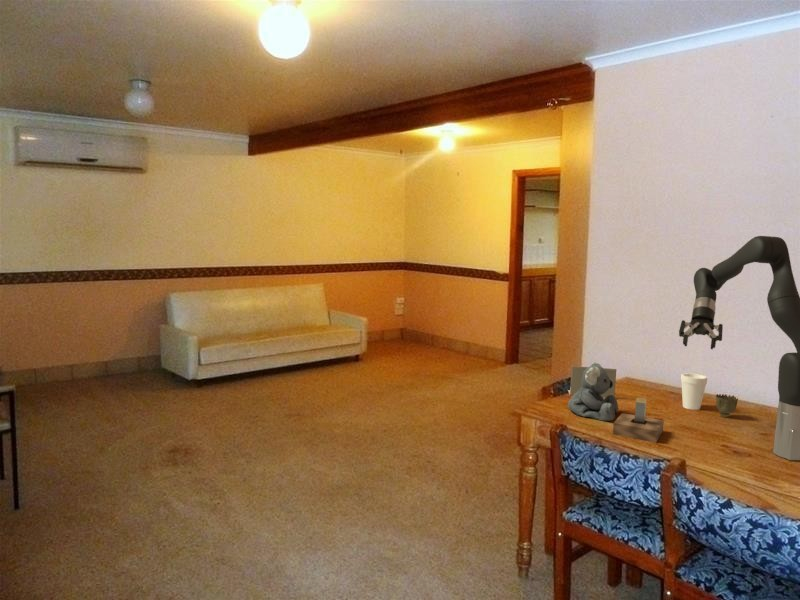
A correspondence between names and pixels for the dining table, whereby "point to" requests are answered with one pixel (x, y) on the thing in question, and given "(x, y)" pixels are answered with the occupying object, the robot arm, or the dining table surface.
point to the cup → (726, 404)
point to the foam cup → (693, 390)
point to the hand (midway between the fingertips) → (698, 346)
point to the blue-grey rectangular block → (640, 410)
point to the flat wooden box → (638, 428)
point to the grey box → (577, 378)
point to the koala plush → (594, 395)
